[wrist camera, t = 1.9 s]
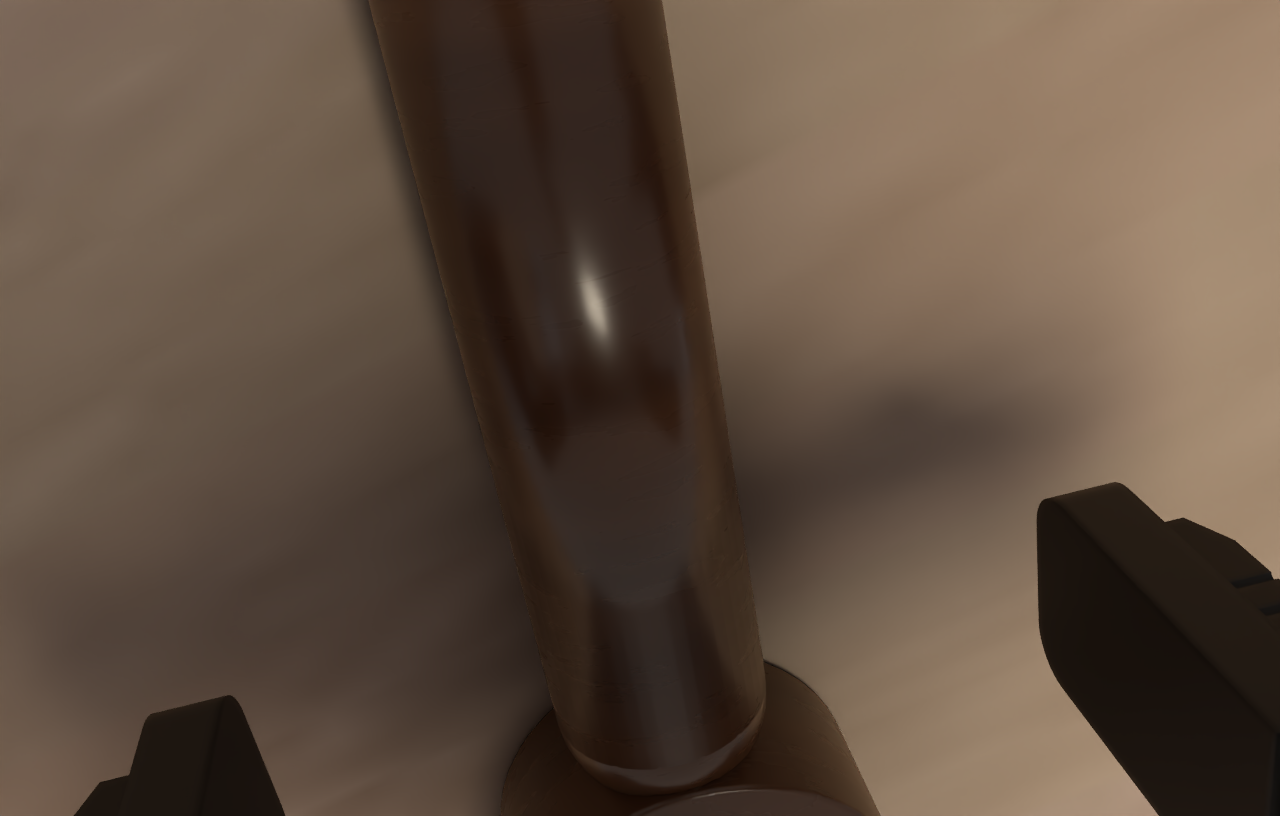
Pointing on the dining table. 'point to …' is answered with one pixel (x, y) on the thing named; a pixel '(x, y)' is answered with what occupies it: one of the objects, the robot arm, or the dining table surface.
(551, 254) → the rod with round cap
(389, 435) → the dining table surface
